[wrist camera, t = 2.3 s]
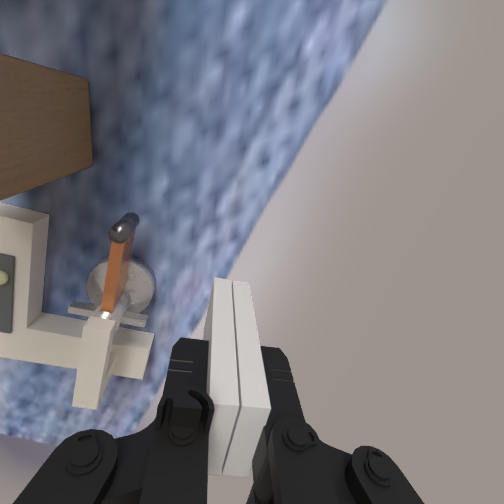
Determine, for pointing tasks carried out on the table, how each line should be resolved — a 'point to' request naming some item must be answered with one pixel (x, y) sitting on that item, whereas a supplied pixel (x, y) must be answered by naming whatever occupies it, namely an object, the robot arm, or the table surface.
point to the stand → (57, 316)
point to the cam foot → (119, 281)
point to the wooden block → (41, 125)
